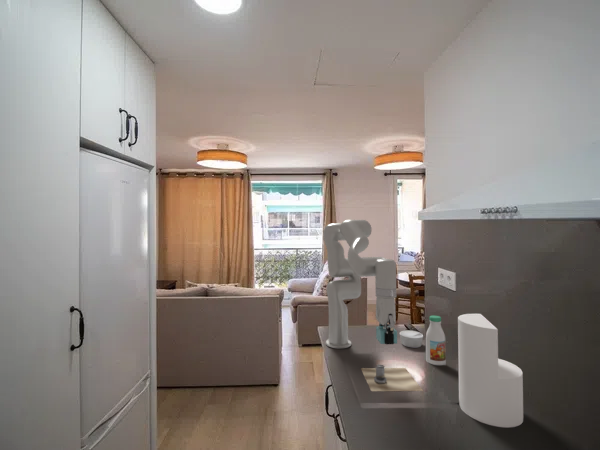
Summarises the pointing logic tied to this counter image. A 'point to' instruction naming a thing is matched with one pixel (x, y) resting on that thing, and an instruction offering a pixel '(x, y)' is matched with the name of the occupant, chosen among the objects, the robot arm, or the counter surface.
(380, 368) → the stud
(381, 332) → the teal knob cube
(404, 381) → the board
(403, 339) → the ramekin
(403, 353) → the counter surface
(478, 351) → the white stepped round block
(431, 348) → the milk bottle
